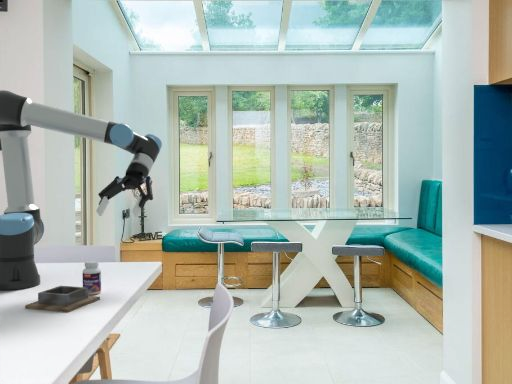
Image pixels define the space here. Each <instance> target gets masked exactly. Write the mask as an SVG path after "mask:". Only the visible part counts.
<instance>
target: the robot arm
mask: <svg viewBox="0 0 512 384" xmlns="http://www.w3.org/2000/svg"><path fill="white" fill-rule="evenodd" d="M32 126H33V127H36V128H40V129H45V130H50V131H54V132H57V133H63V134H67V135H70V136H75V137H79V138H83V139H87V140H93V141H96V142H101V143H105V144H108V145H113V146H116V147H118V148H120V149H121V150H124V151H125V152H128V153H130V154H132V155H133V157H132V159H131V160H130V163H129V164H128V166H127V168H126V170H125V175H124V176H123V177H120V176H115V178H114V179H113V181H111V182H110V183H108V185H106V186H105V187H104V188H103V189H102V190H100V191H99V192H98V197H99V198H100V200H99V202H98V207H97V209H96V213H97V214H98V216H99V217H102V216H103V215H104V212H105V210H106V208H107V207H108V205H109V203H110V201H109V200H111V199H113V198H115V196H117V195H119V194H120V193H121V192H125V191H127V190H133V191H135V190H136V189H137V190H138V192H139V194H140V196H138V199H137V200H136V202H135V205H134V206H133V209H132V210H131V212H132V214H133V216H134V217H136V218H137V217H138V216H139V213H140V212H141V209H143V208H144V207H145V205H146V203H147V202H148V201H153V200H154V195H153V194H154V193H153V188H152V185H153V180H152V178H151V175H149V173H150V172H151V170H152V168H153V166H154V164H155V162H156V160H157V158H158V156H159V154H160V152H161V149H162V146H163V142H162V140H161V138H160V137H159V136H157V135H155V134H151V133H147V134H146V135H144V136H143V135H140V134H138V133H137V132H135V131H134V130H133V129H132V127H131V126H129V125H128V124H125V123H118V122H114V121H109V120H107V119H106V120H105V119H101V118H98V117H95V116H90V115H86V114H82V113H77V112H75V111H70V110H66V109H61V108H58V107H54V106H49V105H45V104H41V103H37V102H33V101H32V99H31V98H30V97H26V96H22V95H19V94H16V93H14V92H12V91H10V90H3V89H0V145H1V146H0V147H1V156H2V165H3V173H4V174H3V175H4V180H5V183H4V184H5V191H6V193H5V194H6V202H7V207H6V208H5V209H4V211H3V214H0V291H10V290H11V291H12V290H21V289H28V288H32V287H36V286H39V285H40V284H41V275H40V273H39V271H38V267H37V266H36V262H35V245H37V244H38V243H39V241H41V239H42V238H43V236H44V232H45V224H44V222H43V220H42V217H41V209H40V207H39V206H37V205H36V204H35V197H34V187H33V177H32V169H31V161H30V151H29V150H30V149H29V139H28V137H29V136H30V134H32ZM143 184H145V189H146V194H145V191H144V190H143V188H142V186H143Z"/></svg>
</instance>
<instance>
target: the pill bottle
mask: <svg viewBox="0 0 512 384" xmlns="http://www.w3.org/2000/svg"><path fill="white" fill-rule="evenodd" d="M84 267H85V268H84V269H83V270H82V287H85V288H88V296H96V295H99V294H101V293H102V270H101V268H99V260H87V261H84Z"/></svg>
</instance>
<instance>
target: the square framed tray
mask: <svg viewBox="0 0 512 384" xmlns="http://www.w3.org/2000/svg"><path fill="white" fill-rule="evenodd" d="M100 298H101V297H100V296H97V295H88V288H85V287H83V286H82V287H81V286H68V285H59V286H56V287H52V288H49V289H46V290H43V291H41V292H38V293H37V301H34V302H31V303H28V304H25V309H30V310H41V311H42V310H43V311H52V312H61V311H62V312H63V313H70V312H73V311H74V310H78V309H80V308H82V307H85V306H88V305H90V304H92V303H95V302H97V301H100V300H101V299H100Z"/></svg>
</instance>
